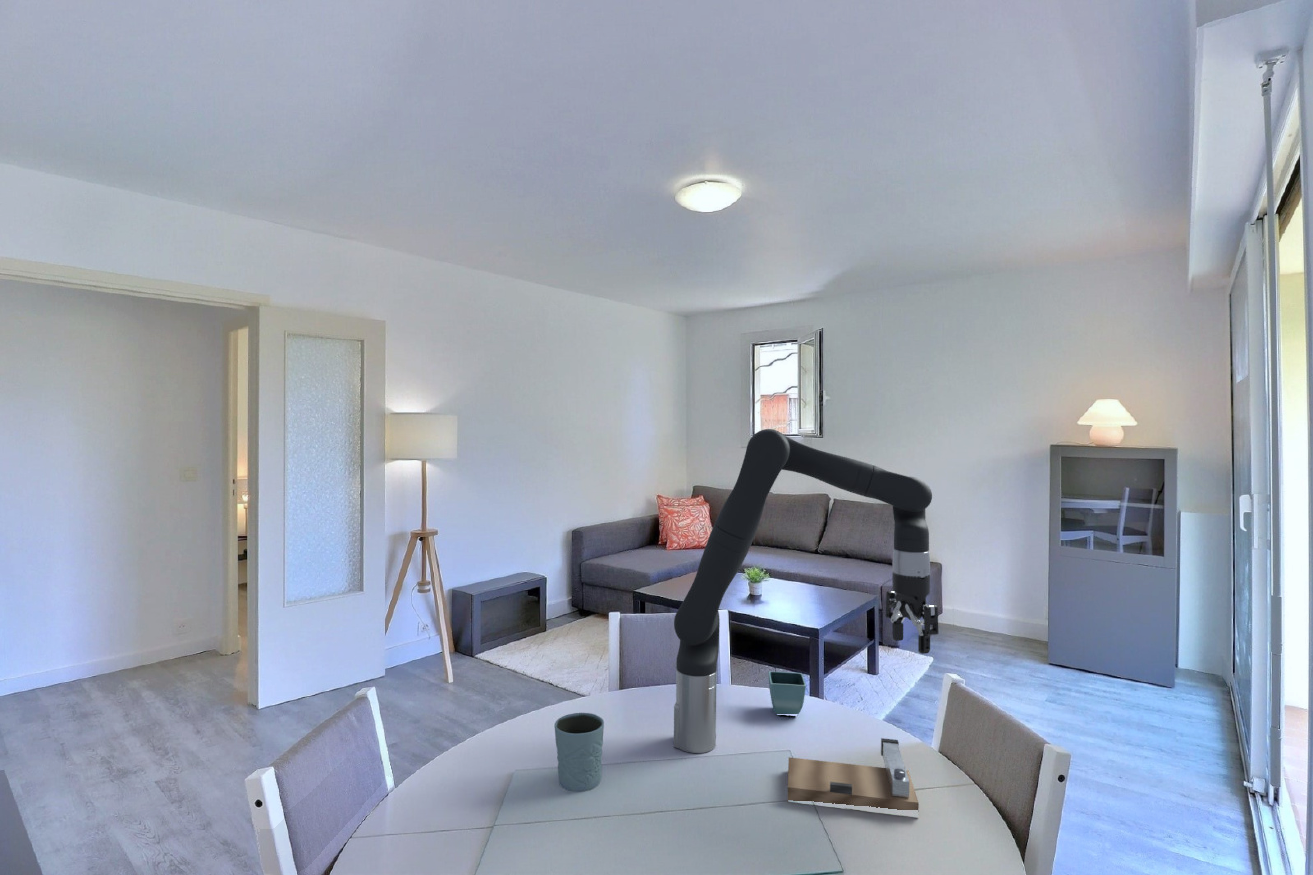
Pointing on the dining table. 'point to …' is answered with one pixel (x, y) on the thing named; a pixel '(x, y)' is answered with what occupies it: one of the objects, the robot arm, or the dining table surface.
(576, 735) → the embossed green cup
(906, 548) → the robot arm
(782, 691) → the flower pot
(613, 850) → the dining table surface
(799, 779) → the wooden board with bar
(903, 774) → the hinged leg
